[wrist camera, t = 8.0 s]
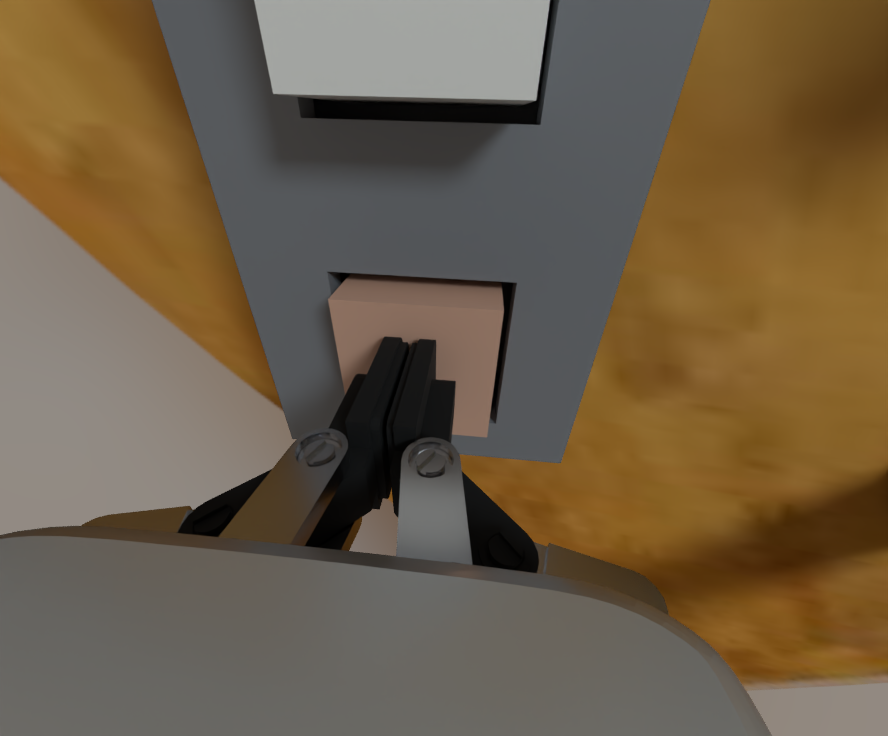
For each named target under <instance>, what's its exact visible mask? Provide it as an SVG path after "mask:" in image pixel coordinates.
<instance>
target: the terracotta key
mask: <svg viewBox="0 0 888 736" xmlns="http://www.w3.org/2000/svg"><path fill="white" fill-rule="evenodd" d="M328 302H329V308H330V313H331V319H332V324H333V330H334V336H335V341H336V347H337V352H338V358H339V363H340V369H341V375H342V380H343V386H344V391H345V394H346V392H347V390H348V388H349V386H350V384H351V382H352V380H353V378H354V377H355V375H356V374H367V373H368V371H369V368H370V366H371V364H372V362H373V360H374V358H375V355H376V353H377V351H378V349H379V347H380V344H381V342H382V340H383V338H384V337H385V336H387V337H401V338H402V340H403V342H408V347H409V351H410V348H411V345H412V343H418V340H419V339H431V340H436V379H437V380H450V381H456V389H455V406H454V419H453V429H452V434H453V435H464V436H476V437H487V434H488V427H489V419H490V412H491V404H492V397H493V389H494V382H495V374H496V367H497V359H498V352H499V344H500V337H501V329H502V322H503V314H504V306H503V295H502V284H501V282H497V281H480V280H463V279H446V278H429V277H412V276H394V275H377V274H360V273H351V274H350V275H349V276H348V277H347V278H346V279H345V281H344V282H343V283H342V284H341V285H340V286H339V287H338V289H337V290H336V291H335V292H334V293H333V294H332V295H331V297H330V298H329V299H328Z"/></svg>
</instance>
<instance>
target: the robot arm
mask: <svg viewBox="0 0 888 736" xmlns="http://www.w3.org/2000/svg"><path fill="white" fill-rule="evenodd" d="M455 389H456V381H450V380H437V379H436V340H431V339H419V340H418V343H412V345H411V348H410V351H409V347H408V342H403V340H402V338H401V337H387V336H385V337H384V338H383V340H382V342H381V344H380V347H379V349H378V351H377V353H376V355H375V358H374V360H373V362H372V364H371V366H370V368H369V371H368V373H367V374H356V375H355V377H354V378H353V380H352V382H351V384H350V386H349V388H348V390H347V392H346V394H345V396H344V398H343V400H342V402H341V404H340V406H339V408H338V410H337V412H336V414H335V416H334V418H333V420H332V422H331V424H330V426H329V428H322V429H315V430H313V431H310V432H307V433H305V434H304V435H302V436H300V437H299V438H298V439H297V440H296V441H295V442H294V443H293V444H292V445H291V446H290V448H289V449H288V450H287V451H286V453H285V454H284V455H283V456H282V458H281V459H280V460H279V461H278V463H277V464H276V465H275V467H274V468H273V469H271V470H270V471H267V472H265V473H263V474H261V475H259V476H257V477H255V478H253V479H251V480H249V481H247V482H245V483H243V484H241V485H239V486H237V487H235V488H233V489H231V490H229V491H227V492H225V493H223V494H221V495H219V496H217V497H215V498H212V499H211V500H209V501H207V502H205V503H203V504H202V505H200V506H198V507H197V508H196V509H195V510H192V509H191V507H190V506H184V507H176V508H166V509H157V510H148V511H139V512H130V513H121V514H112V515H106V516H102V517H98V518H95V519H93V520H91V521H89V522H87V523H85V524H83V525H82V526H67V527H66V526H65V527H64V526H63V527H48V528H40V529H32V530H24V531H17V532H12V533H8V534H3V535H0V736H772V735H771V733H770V731H769V730H768V728H767V726H766V724H765V722H764V720H763V718H762V717H761V715H760V713H759V712H758V710H757V708H756V706H755V705H754V703H753V701H752V700H751V698H750V696H749V694H748V693H747V691H746V690H745V688H744V687H743V685H742V684H741V682H740V681H739V679H738V678H737V676H736V675H735V673H734V672H733V671H732V669H731V668H730V667H729V665H728V664H727V663H726V662H725V661H724V660H723V658H722V657H721V656H720V655H719V654H718V652H716V651H715V650H714V649H713V648H712V647H711V646H710V645H709V644H708V643H707V642H706V641H705V640H703V639H702V638H701V637H700V636H698V635H697V634H696V633H695V632H693V631H692V630H690V629H689V628H687V627H686V626H684V625H683V624H681V623H680V622H678V621H677V620H675V619H674V618H672V617H670V616H669V614H668V609H667V606H666V603H665V600H664V598H663V596H662V595H661V593H660V592H659V591H658V589H657V588H656V586H655V585H654V584H653V583H651V582H650V581H649V580H648V579H647V578H646V577H645V576H643V575H641V574H639V573H637V572H635V571H633V570H630V569H627V568H624V567H621V566H618V565H615V564H612V563H609V562H606V561H603V560H600V559H597V558H593V557H590V556H587V555H584V554H581V553H578V552H575V551H572V550H569V549H566V548H563V547H560V546H557V545H554V544H551V543H549V544H548V547H547V546H544V545H541V544H538V543H535V542H533V541H532V539H531V538H530V537H529V536H528V534H527V533H526V532H525V531H524V530H523V529H522V528H521V527H520V526H519V525H517V524H516V523H515V522H514V521H513V520H512V519H511V518H510V517H509V516H508V515H507V514H506V513H505V512H504V511H503V510H502V509H501V508H500V507H499V506H498V505H497V504H495V503H494V502H493V501H492V500H491V499H490V498H489V497H488V496H487V495H486V494H485V493H484V492H483V491H482V490H481V489H480V488H479V487H478V486H477V485H476V484H475V483H474V482H472V481H471V480H470V479H469V478H468V477H467V476H466V475H465V474H464V473H463V472H462V470H461V462H460V456H459V453H458V451H457V449H456V448H455V447H454V446H453V445H452V444H451V439H452V429H453V419H454V406H455ZM391 488H392V496H393V506H394V513H395V514H396V516H397V517H398V535H397V554H396V556H388V555H379V554H370V553H360V552H352V551H349V550H350V548H351V545H352V543H353V541H354V539H355V537H356V535H357V533H358V530H359V528H360V526H361V522H362V516H364V515H365V514H367V513H368V512H370V511H371V510H372V509H380V506H381V502H382V499H383V498H386V499H388V498H389V495H390V492H391Z"/></svg>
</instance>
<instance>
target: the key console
mask: <svg viewBox="0 0 888 736" xmlns="http://www.w3.org/2000/svg"><path fill="white" fill-rule="evenodd" d="M152 2H153V5H154V8H155V12H156V15H157V18H158V21H159V24H160V27H161V30H162V33H163V37H164V40H165V43H166V46H167V49H168V52H169V55H170V58H171V61H172V65H173V68H174V71H175V74H176V77H177V80H178V83H179V86H180V90H181V93H182V96H183V99H184V102H185V105H186V108H187V111H188V114H189V118H190V121H191V124H192V127H193V130H194V133H195V136H196V139H197V143H198V146H199V149H200V152H201V155H202V158H203V161H204V164H205V167H206V171H207V174H208V177H209V180H210V183H211V186H212V189H213V192H214V196H215V199H216V202H217V205H218V208H219V211H220V214H221V217H222V220H223V224H224V227H225V230H226V233H227V236H228V239H229V242H230V245H231V249H232V252H233V255H234V258H235V261H236V264H237V267H238V270H239V273H240V277H241V280H242V283H243V286H244V289H245V292H246V295H247V298H248V302H249V305H250V308H251V311H252V314H253V317H254V320H255V323H256V326H257V330H258V333H259V336H260V339H261V342H262V345H263V348H264V351H265V355H266V358H267V361H268V364H269V367H270V370H271V373H272V376H273V379H274V383H275V386H276V389H277V392H278V395H279V398H280V401H281V404H282V408H283V411H284V414H285V417H286V420H287V423H288V426H289V429H290V432H291V436H292V438H293V439H298V438H299V437H300V436H302V435H304V434H305V433H307V432H310V431H313V430H315V429H322V428H329V426H330V424H331V422H332V420H333V418H334V416H335V414H336V412H337V410H338V408H339V406H340V404H341V402H342V400H343V398H344V396H345V391H344V386H343V380H342V375H341V369H340V363H339V358H338V352H337V347H336V341H335V336H334V330H333V324H332V319H331V313H330V308H329V302H328V299H329V298H330V297H331V295H332V294H333V293H334V292H335V291H336V290H337V289H338V287H339V286H340V285H341V284H342V283H343V282H344V281H345V279H346V278H347V277H348V276H349V275H350V274H351V273H360V274H377V275H394V276H412V277H429V278H446V279H463V280H480V281H497V282H501V284H502V295H503V306H504V314H503V322H502V329H501V337H500V344H499V352H498V359H497V367H496V374H495V382H494V389H493V397H492V404H491V412H490V419H489V427H488V434H487V437H476V436H464V435H453V434H452V439H451V444H452V445H453V446H454V447H455V448H456V449H457V451H458V453H459V454H464V455H475V456H486V457H497V458H508V459H519V460H530V461H541V462H552V463H561V460H562V457H563V454H564V451H565V448H566V445H567V442H568V439H569V435H570V432H571V429H572V426H573V423H574V420H575V417H576V414H577V411H578V408H579V405H580V402H581V398H582V395H583V392H584V389H585V386H586V383H587V380H588V377H589V374H590V371H591V368H592V364H593V361H594V358H595V355H596V352H597V349H598V346H599V343H600V340H601V337H602V334H603V331H604V327H605V324H606V321H607V318H608V315H609V312H610V309H611V306H612V303H613V300H614V297H615V293H616V290H617V287H618V284H619V281H620V278H621V275H622V272H623V269H624V266H625V263H626V260H627V256H628V253H629V250H630V247H631V244H632V241H633V238H634V235H635V232H636V229H637V226H638V222H639V219H640V216H641V213H642V210H643V207H644V204H645V201H646V198H647V195H648V192H649V189H650V185H651V182H652V179H653V176H654V173H655V170H656V167H657V164H658V161H659V158H660V155H661V151H662V148H663V145H664V142H665V139H666V136H667V133H668V130H669V127H670V124H671V121H672V118H673V114H674V111H675V108H676V105H677V102H678V99H679V96H680V93H681V90H682V87H683V84H684V80H685V77H686V74H687V71H688V68H689V65H690V62H691V59H692V56H693V53H694V50H695V47H696V43H697V40H698V37H699V34H700V31H701V28H702V25H703V22H704V19H705V16H706V13H707V9H708V6H709V3H710V0H550V4H549V11H548V19H547V26H546V33H545V40H544V47H543V55H542V62H541V69H540V76H539V83H538V91H537V98H536V101H533V102H531V103H528V104H525V105H522V106H519V107H488V106H449V105H411V104H373V103H347V102H339V101H330V100H321V99H313V98H304V97H295V96H287V95H278V94H273V90H272V86H271V81H270V76H269V71H268V66H267V61H266V56H265V51H264V46H263V41H262V36H261V31H260V26H259V21H258V16H257V11H256V7H255V2H254V0H152Z"/></svg>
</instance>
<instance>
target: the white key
mask: <svg viewBox="0 0 888 736" xmlns="http://www.w3.org/2000/svg"><path fill="white" fill-rule="evenodd" d="M254 2H255V7H256V11H257V16H258V21H259V26H260V31H261V36H262V41H263V46H264V51H265V56H266V61H267V66H268V71H269V76H270V81H271V86H272V90H273V94H278V95H287V96H295V97H304V98H313V99H321V100H330V101H339V102H347V103H373V104H411V105H449V106H488V107H519V106H522V105H525V104H528V103H531V102H533V101H536V98H537V91H538V83H539V76H540V69H541V62H542V55H543V47H544V40H545V33H546V26H547V19H548V11H549V4H550V0H254Z"/></svg>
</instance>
